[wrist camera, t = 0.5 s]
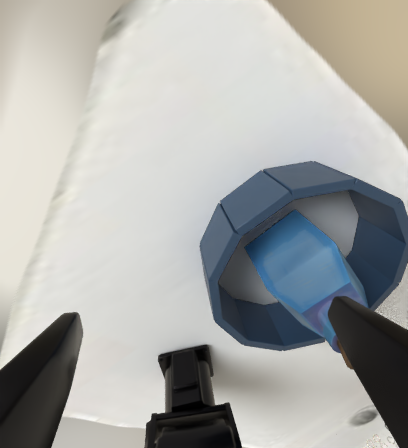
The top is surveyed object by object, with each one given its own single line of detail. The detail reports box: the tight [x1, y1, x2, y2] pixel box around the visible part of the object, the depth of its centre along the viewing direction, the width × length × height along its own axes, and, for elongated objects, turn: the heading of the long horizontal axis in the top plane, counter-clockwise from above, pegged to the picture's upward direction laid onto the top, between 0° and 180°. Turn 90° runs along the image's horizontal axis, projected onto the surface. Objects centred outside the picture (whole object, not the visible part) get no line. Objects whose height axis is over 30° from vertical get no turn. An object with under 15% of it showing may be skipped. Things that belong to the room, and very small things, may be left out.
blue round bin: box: [200, 161, 408, 351], centre depth 23 cm, size 18×18×6 cm
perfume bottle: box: [245, 210, 369, 370], centre depth 20 cm, size 6×6×12 cm
